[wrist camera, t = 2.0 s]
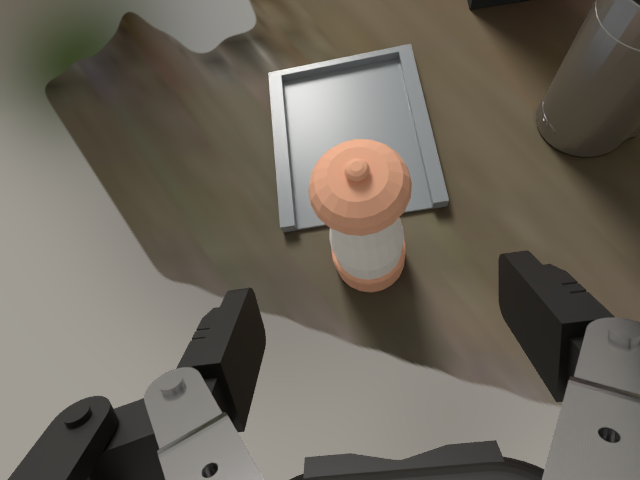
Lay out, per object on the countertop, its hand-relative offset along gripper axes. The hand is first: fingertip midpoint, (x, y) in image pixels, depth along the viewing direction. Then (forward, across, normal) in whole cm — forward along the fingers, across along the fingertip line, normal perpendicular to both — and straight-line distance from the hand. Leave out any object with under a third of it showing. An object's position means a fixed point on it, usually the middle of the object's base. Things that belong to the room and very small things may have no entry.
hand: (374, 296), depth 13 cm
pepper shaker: (+28, 0, +13) cm, 31 cm away
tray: (+38, 0, +2) cm, 39 cm away
